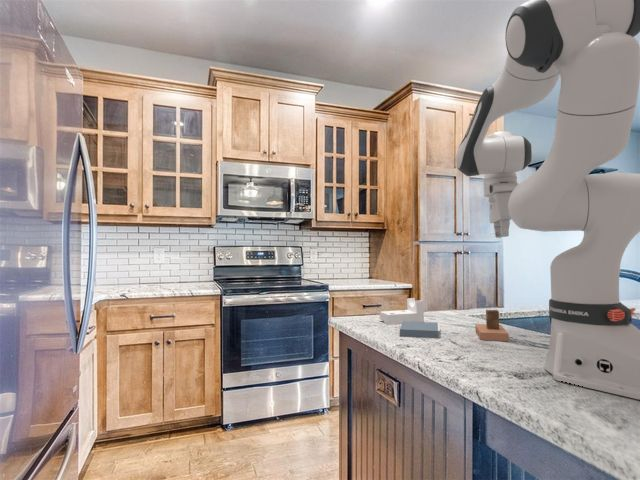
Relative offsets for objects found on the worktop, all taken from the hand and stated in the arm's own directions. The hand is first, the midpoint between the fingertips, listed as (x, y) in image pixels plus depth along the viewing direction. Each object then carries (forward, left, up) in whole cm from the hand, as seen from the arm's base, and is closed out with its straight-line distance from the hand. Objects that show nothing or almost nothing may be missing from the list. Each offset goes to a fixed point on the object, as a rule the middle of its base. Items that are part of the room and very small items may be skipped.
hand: (501, 237), depth 110 cm
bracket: (+30, +13, -28) cm, 43 cm away
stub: (0, +6, -28) cm, 28 cm away
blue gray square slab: (+14, +19, -28) cm, 36 cm away
